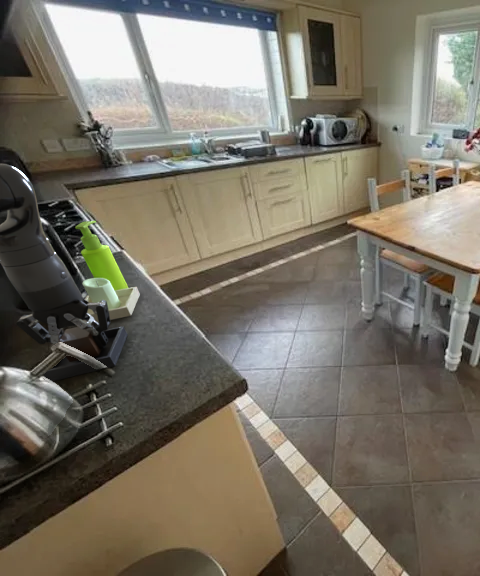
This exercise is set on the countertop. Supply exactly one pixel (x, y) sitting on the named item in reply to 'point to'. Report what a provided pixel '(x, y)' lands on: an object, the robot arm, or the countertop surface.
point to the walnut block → (80, 342)
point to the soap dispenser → (100, 258)
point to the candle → (101, 292)
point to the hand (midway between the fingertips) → (87, 349)
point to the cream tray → (127, 301)
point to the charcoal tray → (106, 357)
